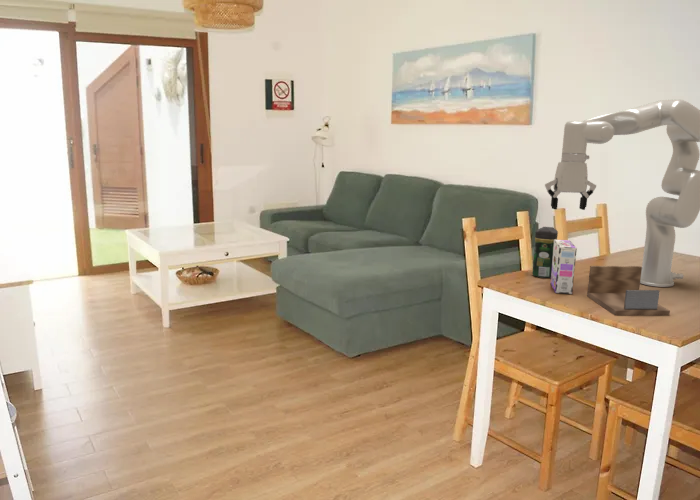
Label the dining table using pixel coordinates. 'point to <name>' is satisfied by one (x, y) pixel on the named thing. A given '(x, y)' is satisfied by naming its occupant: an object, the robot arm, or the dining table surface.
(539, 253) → the coffee jar
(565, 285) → the candy box
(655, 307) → the grey flat slab
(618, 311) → the wooden shelf
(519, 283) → the dining table surface
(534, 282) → the dining table surface
